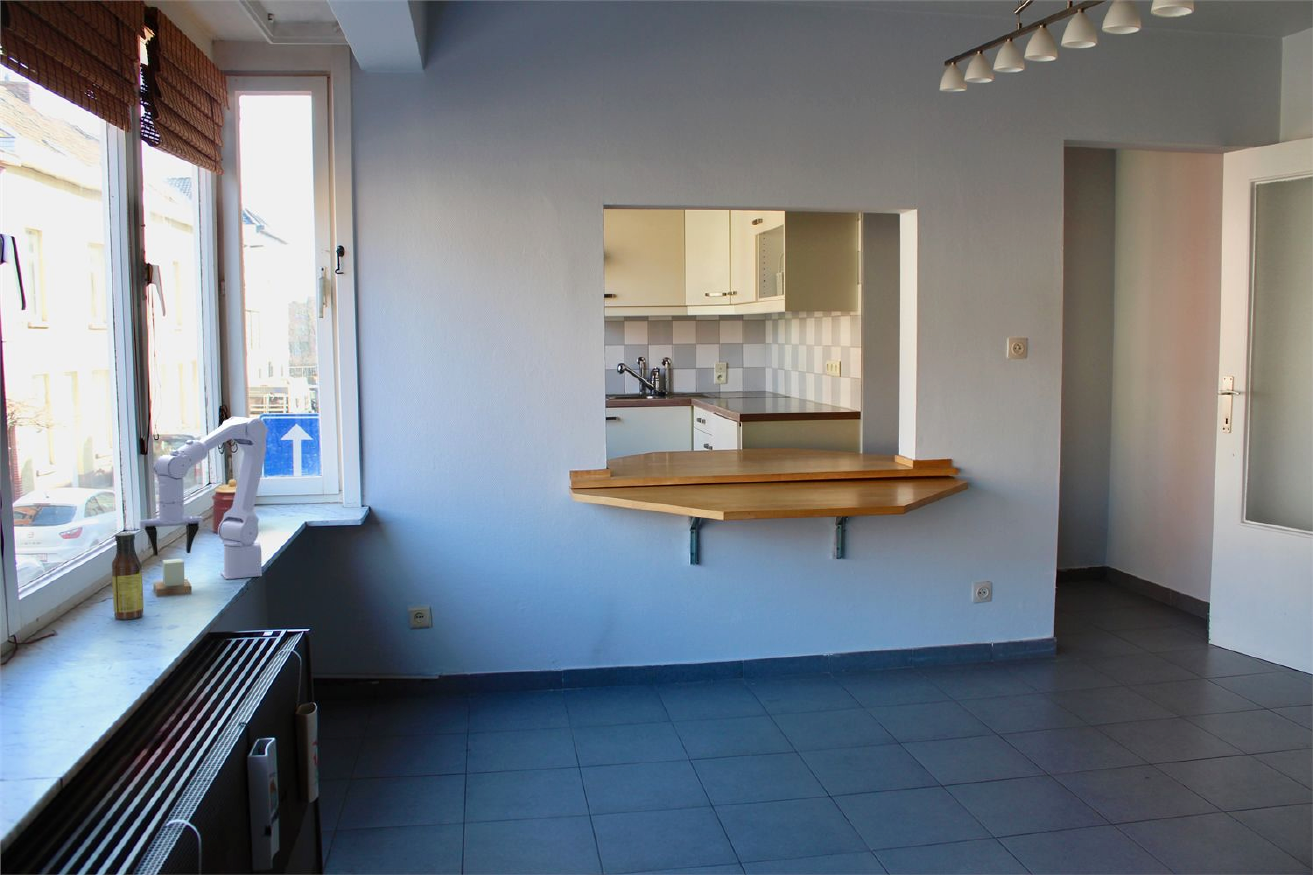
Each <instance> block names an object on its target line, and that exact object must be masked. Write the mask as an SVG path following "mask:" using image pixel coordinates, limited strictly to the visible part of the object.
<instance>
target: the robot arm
mask: <svg viewBox="0 0 1313 875" xmlns="http://www.w3.org/2000/svg"><path fill="white" fill-rule="evenodd" d="M268 432H269V428H268V427H267V425H266V423H265V422H264V420H262V419H261V418H258V417H254V418H253V417H251V418H250V417H240V416H236V415H235V416H231V417H230V418H228V419H225V420H223V422H222V424H221V425H220V426H219V427H217V428H216V429H214V430H213V431H212V432H210V433H208V434H207V435H206V436H205V437H204V438H201V439H200V440H197V439H188V440H186V441H185V444H184V445H182V446H180V447H178V449H172V450H171V453H170V454H164V455H160V456H159V457H158V458H157V459H155V463H154V465H153V466H152V470H153V473H154V474H155V475H156V477H157V478H156V479H157V480H156V481H157V483H158V510H159V511H158V512H159V513H158V517H155V518H149V519H148V518H147V519H140V520H139V528H140V529H143V530H145V533H146V535H147V536H148V538H149V541H150V544H151V547H152V551H153V556H154V557H156V556H157V557H159V556H158V542H157V541H158V530H157V528H160V527H161V528H162V527H163V528H164V527H165V528H166V527H175V526H185V531H186V542H185V543H186V545H185V546H186V547H185V550H186V554H191V550H192V546H193V542H194V540H195V537H196V536H197V535H196V534H197V532H199V528H200V527H199V525H201V526H203V525H204V520H203V519H204V517H203V516H202V515H201V516H200V515H199V516H191V515H190V516H185V512H184V510H185V509H184V508H185V507H184V506H185V502H184V500H185V499H184V498H185V497H184V494H185V493H184V477H186V476H187V475H188V472H189V471H190V469H191V468H192V467H194V466H195V465H197V464H199V463H200V462H202V461H203V460H205V459H206V458H207V457H208V452H210V451H211V450H213V449H214V448H217V447H218V446H220V445H223V444H224V443H226V442H227V441H229V440H232V441H233V442H234V443H235V444H236V445H238V446H239V447H240V448H241V450H242V451H243V456H242V462H241V467H240V470H239V475H238V480H237V488H236V492H235V496H234V501H233V505H232V508H231V509H230V510H228V511H227V512H226V513H225V514H224V517H223V520H222V521H221V523H220V524H219V527H218V533H217V534H218V537H219V539H220V540H222V544H223V546H224V547H223V548H224V549H223V550H224V551H223V553H224V558H223V560H224V566H223V567H224V571H221V572H220V574H221V575H222V577H223V578H224V579H225V580H231V579H232V580H233V579H243V578H254V577H255V578H256V577H262V576H263V574H262V567H263V566H262V547H261V544H260V542H255V541H257V539H258V536H259V520H260V519H259V517H258V516H257V515H256V513H255V512H254V506H255V503H256V499H257V493H258V489H259V484H260V481H261V480H260V479H261V476H262V472H263V466H264V462H265V459H266V453H267V437H268ZM239 519H242V520H243V521H240V520H239Z"/></svg>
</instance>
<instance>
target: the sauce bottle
mask: <svg viewBox="0 0 1313 875" xmlns="http://www.w3.org/2000/svg"><path fill="white" fill-rule="evenodd" d="M114 536H115V537H114V540H115V542H116V550H115V552H116V553H115V557H114V558H113V560H112V562H111V570H112V571H111V572H112V574H111V583H112V598H113V599H112V601H113V603H112V604H113V605H112V606H113V612H114V618H115V619H118V620H132V619H133V620H135V619H137V618H141V617H142V616H143V615H144V592H143V591H144V590H143V588H144V587H143V568H142V564H141V562H140V560H139V557H138V555H137V553H136V548H135V539H136V538H135V537H136V534H135V533H134V532H130V531H128V532H119V533H116V534H115V535H114Z"/></svg>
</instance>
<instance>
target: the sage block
mask: <svg viewBox="0 0 1313 875" xmlns="http://www.w3.org/2000/svg"><path fill="white" fill-rule="evenodd" d="M161 562H162V581H163V584H164V585H165V587H167V586H177V585H184V579H185V561H184V559H182V558H174V559H163V560H162V561H161Z"/></svg>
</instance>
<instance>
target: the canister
mask: <svg viewBox="0 0 1313 875" xmlns="http://www.w3.org/2000/svg"><path fill="white" fill-rule="evenodd" d="M237 483H238V481H237V480H236V479H234V478H232V479H229V480H228V483H227V484H222V485H219V486H218V487H216V488H215V489H214V490H213V491H214V492H215V494H213V495H212V496H211V498H212V499H213V503H212V506H211V508H212V510H211V512H212V516H211V517H212V524H211V528H212V532H213V533H215V534H218V527H219V524H220V523H221V521H222V520H223V517H224V514H225V513H226V512H227V511H228V510H230V509H231V508H232V505H233V501H234V496H235V492H236V488H237ZM239 520H240V521H243V520H242V519H239Z"/></svg>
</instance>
